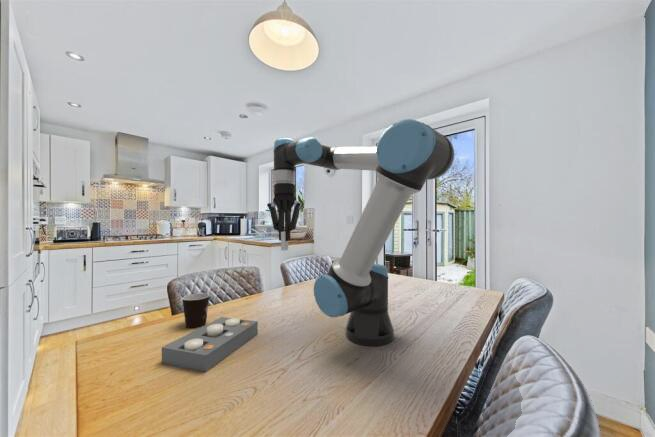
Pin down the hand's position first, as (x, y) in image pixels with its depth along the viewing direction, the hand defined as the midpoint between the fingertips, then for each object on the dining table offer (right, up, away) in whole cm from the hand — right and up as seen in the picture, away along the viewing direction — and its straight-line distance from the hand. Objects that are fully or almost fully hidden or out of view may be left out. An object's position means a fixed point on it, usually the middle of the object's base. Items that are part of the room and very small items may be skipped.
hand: (284, 250), depth 95 cm
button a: (-15, -24, -9) cm, 30 cm away
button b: (-18, -23, -17) cm, 33 cm away
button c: (-20, -24, -24) cm, 39 cm away
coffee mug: (-31, -27, +1) cm, 41 cm away
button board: (-18, -26, -17) cm, 36 cm away
